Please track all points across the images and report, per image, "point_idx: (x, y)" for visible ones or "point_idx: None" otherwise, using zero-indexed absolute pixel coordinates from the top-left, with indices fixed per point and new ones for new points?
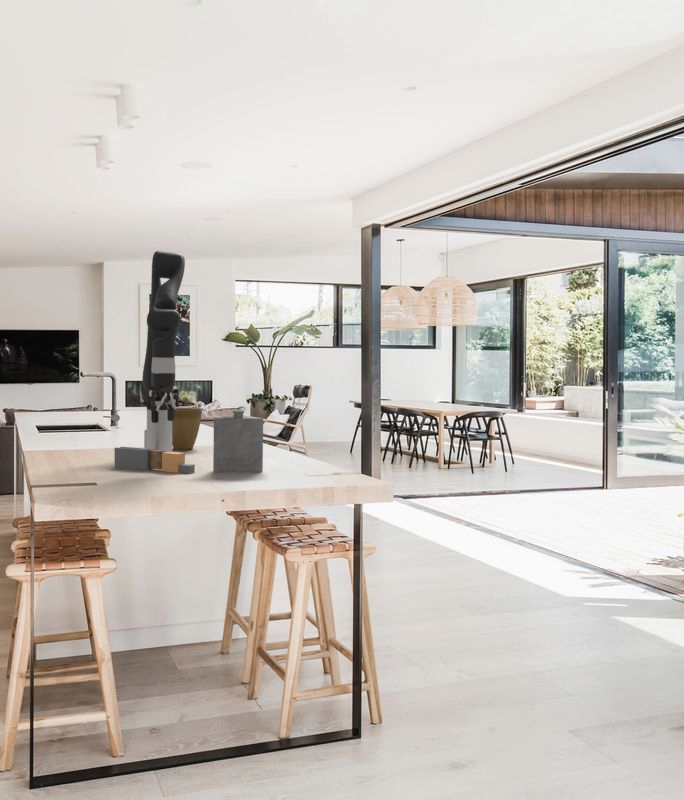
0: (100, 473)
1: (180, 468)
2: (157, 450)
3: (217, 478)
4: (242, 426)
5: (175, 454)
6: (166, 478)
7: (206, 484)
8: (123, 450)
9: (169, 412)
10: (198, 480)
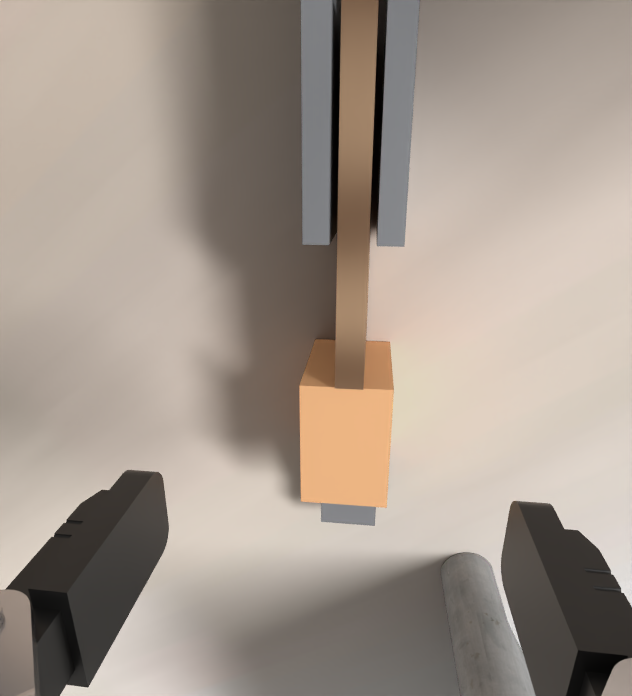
0: (44, 50)
1: None
2: (364, 305)
3: (263, 643)
4: None
5: (301, 483)
6: None
7: (114, 661)
8: None
9: (546, 630)
10: (174, 605)
